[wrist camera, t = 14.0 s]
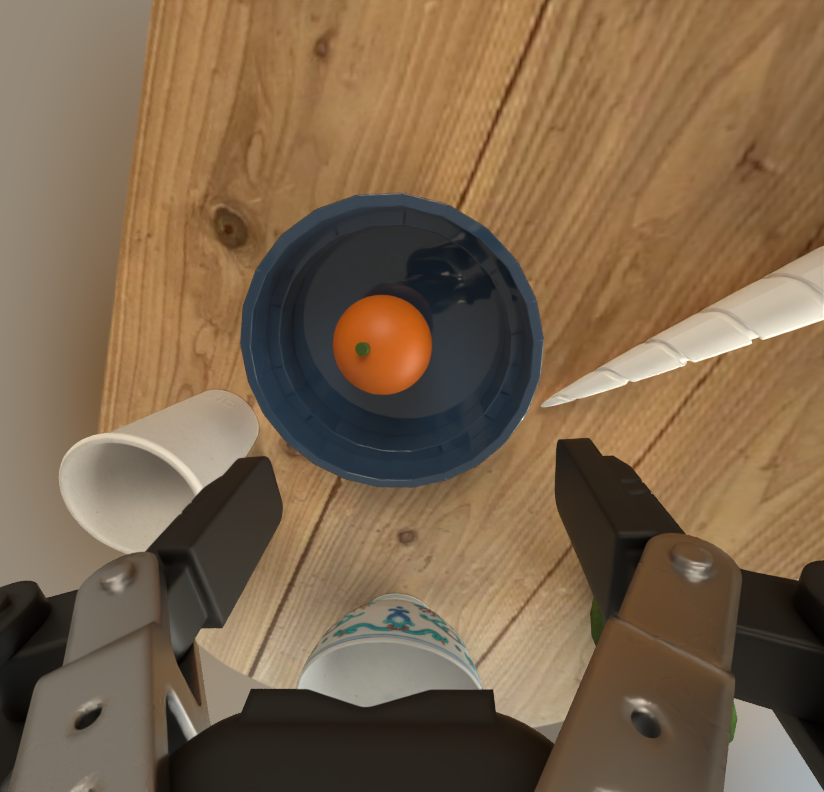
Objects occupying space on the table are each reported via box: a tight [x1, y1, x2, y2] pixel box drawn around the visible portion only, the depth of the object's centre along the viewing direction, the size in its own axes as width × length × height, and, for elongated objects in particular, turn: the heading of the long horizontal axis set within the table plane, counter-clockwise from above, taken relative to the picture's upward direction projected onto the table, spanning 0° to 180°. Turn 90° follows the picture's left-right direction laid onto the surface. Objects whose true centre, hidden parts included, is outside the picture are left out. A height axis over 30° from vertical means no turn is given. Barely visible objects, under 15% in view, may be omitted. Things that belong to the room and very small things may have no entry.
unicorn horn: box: [540, 246, 824, 407], centre depth 23 cm, size 5×24×5 cm, turn 117°
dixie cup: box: [59, 390, 259, 554], centre depth 26 cm, size 8×8×10 cm
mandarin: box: [333, 295, 432, 395], centre depth 24 cm, size 6×6×6 cm
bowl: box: [240, 193, 544, 488], centre depth 25 cm, size 17×17×6 cm
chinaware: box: [296, 593, 483, 707], centre depth 34 cm, size 15×15×8 cm
